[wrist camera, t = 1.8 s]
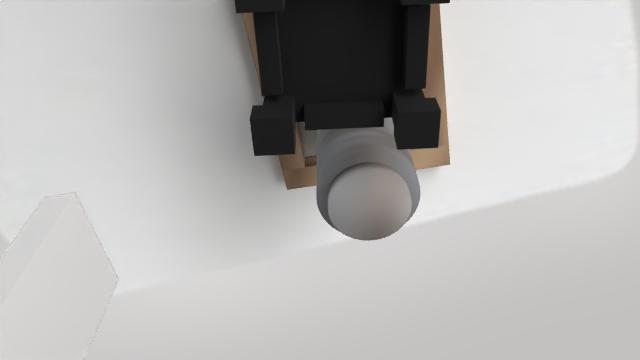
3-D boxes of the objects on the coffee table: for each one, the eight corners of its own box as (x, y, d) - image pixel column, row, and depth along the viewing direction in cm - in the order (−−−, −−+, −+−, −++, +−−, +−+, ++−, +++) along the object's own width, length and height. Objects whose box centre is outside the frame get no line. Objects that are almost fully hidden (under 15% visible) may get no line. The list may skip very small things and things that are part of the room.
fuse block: (288, 179, 46) (277, 314, 34) (206, -145, 34) (140, -123, 21) (450, 154, 45) (501, 284, 33) (427, -193, 33) (497, -199, 20)
